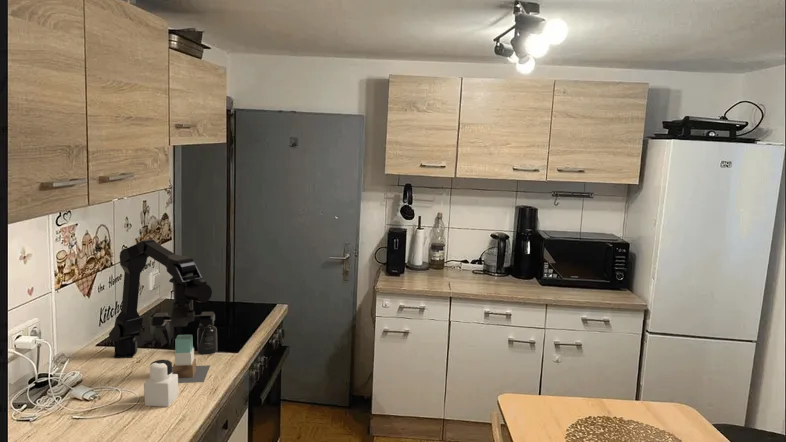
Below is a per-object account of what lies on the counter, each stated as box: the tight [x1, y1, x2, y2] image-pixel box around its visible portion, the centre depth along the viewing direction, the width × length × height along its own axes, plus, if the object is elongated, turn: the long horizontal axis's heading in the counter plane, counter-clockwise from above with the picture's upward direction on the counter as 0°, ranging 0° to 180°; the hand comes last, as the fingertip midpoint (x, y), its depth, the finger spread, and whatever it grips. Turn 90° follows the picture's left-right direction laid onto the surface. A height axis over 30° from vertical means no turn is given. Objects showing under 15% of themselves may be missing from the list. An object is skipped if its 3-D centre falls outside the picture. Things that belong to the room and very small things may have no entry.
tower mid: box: [174, 347, 195, 366], centre depth 188 cm, size 5×5×4 cm
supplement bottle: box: [196, 322, 218, 356], centre depth 209 cm, size 7×7×12 cm
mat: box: [172, 365, 211, 384], centre depth 188 cm, size 14×14×1 cm
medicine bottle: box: [143, 359, 179, 408], centre depth 169 cm, size 7×7×12 cm
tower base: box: [172, 358, 197, 378], centre depth 188 cm, size 6×6×4 cm
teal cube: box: [174, 334, 194, 354], centre depth 187 cm, size 4×4×4 cm
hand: (184, 344), depth 187 cm, fingers open, 9 cm apart
